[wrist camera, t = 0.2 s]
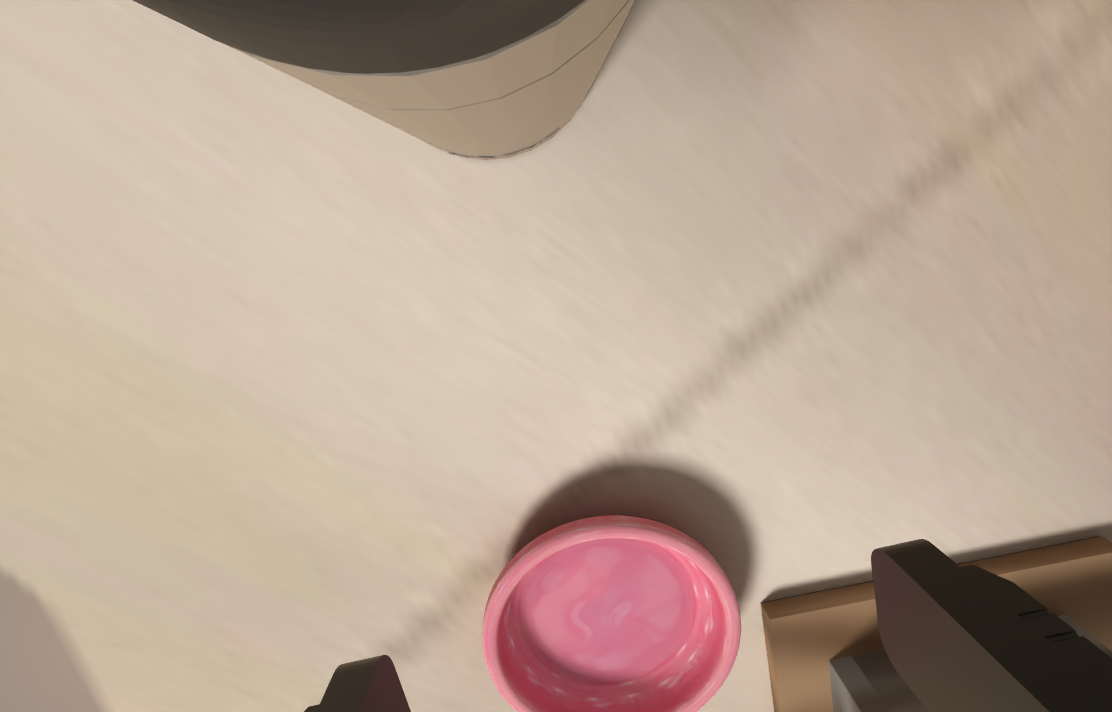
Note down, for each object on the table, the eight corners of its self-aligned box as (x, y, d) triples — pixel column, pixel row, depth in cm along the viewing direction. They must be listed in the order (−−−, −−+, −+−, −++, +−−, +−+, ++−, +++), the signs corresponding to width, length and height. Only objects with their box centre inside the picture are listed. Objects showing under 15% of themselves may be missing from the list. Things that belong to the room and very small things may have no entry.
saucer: (478, 498, 28) (471, 535, 25) (727, 486, 28) (750, 520, 25) (494, 699, 32) (490, 752, 28) (717, 685, 32) (736, 737, 29)
